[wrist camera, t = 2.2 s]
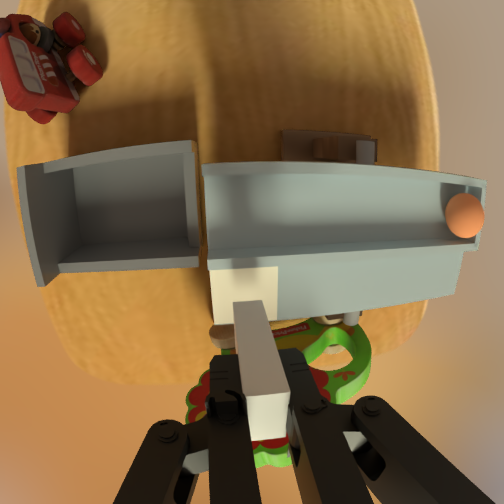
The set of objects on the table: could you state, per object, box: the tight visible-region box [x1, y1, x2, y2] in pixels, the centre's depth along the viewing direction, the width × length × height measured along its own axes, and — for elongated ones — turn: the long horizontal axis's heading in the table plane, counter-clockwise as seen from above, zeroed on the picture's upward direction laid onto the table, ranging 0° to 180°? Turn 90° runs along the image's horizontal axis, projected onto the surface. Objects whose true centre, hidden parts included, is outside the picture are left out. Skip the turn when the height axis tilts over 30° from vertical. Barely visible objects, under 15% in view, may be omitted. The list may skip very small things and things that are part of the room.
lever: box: [202, 140, 487, 326], centre depth 17 cm, size 13×20×3 cm, turn 91°
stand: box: [281, 130, 377, 320], centre depth 22 cm, size 15×8×6 cm, turn 1°
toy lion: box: [185, 316, 371, 468], centre depth 22 cm, size 16×5×15 cm, turn 101°
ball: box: [445, 193, 484, 238], centre depth 16 cm, size 3×3×3 cm
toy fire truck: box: [0, 12, 103, 124], centre depth 13 cm, size 7×12×10 cm, turn 28°
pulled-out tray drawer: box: [17, 140, 203, 287], centre depth 19 cm, size 9×12×8 cm
